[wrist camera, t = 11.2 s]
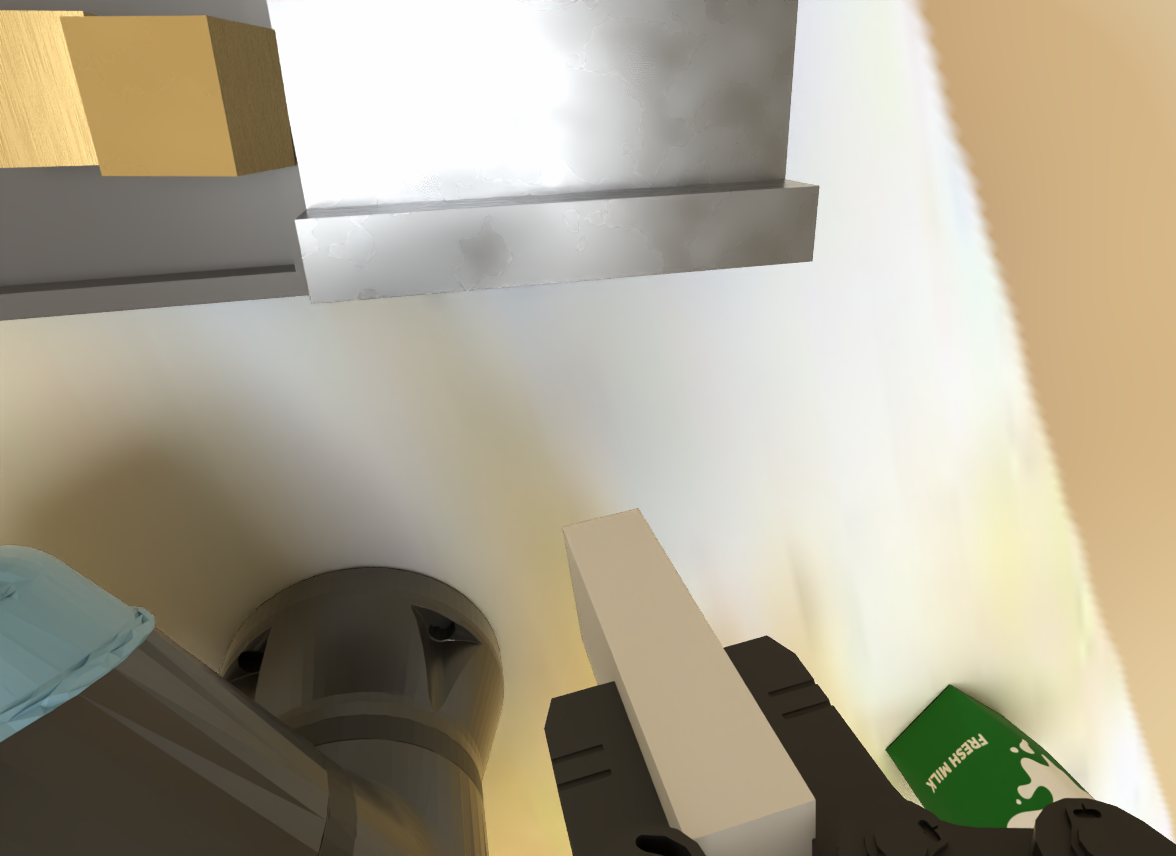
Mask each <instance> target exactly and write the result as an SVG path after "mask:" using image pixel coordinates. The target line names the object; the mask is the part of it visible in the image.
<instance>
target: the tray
mask: <svg viewBox="0 0 1176 856" xmlns="http://www.w3.org/2000/svg"><path fill="white" fill-rule="evenodd" d="M0 10H18V11H84V12H88V13H91V14H95V15H98V16H192V15H207V16H211V17H216V18H221V19H226V20H231V21H236V22H241V23H245V24H250V25H255V26H260V27H265V28H270V29H272V26H271V21H270V16H269V11H268V5H267V0H0ZM289 121H290V120H289ZM290 127H291V125H290ZM291 133H292V130H291ZM292 139H293V136H292ZM293 146H294V141H293ZM294 152H295V158H296V164H297V165H296V166H290V167H285V168H280V169H274V170H269V171H264V172H258V173H253V174H248V175H243V176H102V174H101V170H100V167H99V165H86V166H51V167H17V168H0V321H1V320H13V319H26V318H38V317H50V316H62V315H74V314H86V313H98V312H110V311H122V310H134V309H146V308H158V307H171V306H183V305H195V304H207V303H219V302H231V301H243V300H255V299H267V298H279V297H291V296H303V295H310V294H309V289H308V284H307V279H306V274H305V269H304V264H303V259H302V254H301V249H300V244H299V239H298V234H297V229H296V224H295V219H296V218H297V217H298V216H299V215H301V214H302V213H303V212H304V211H305V210H306V203H305V198H304V193H303V188H302V183H301V177H300V172H299V167H298V162H297V157H296V151H295V146H294Z"/></svg>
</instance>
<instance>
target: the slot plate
mask: <svg viewBox="0 0 1176 856" xmlns="http://www.w3.org/2000/svg"><path fill="white" fill-rule="evenodd" d="M267 5H268V11H269V16H270V21H271V26H272V29H274V30H275V33H276V40H277V46H278V52H279V58H280V65H281V71H282V77H283V83H284V90H285V96H286V102H287V108H288V115H289V120H290V125H291V130H292V136H293V141H294V146H295V151H296V157H297V162H298V167H299V172H300V177H301V183H302V188H303V193H304V198H305V203H306V210H305V211H304V212H303V213H302V214H301V215H299V216H298V217H297V218H296V219H295V224H296V229H297V234H298V239H299V244H300V249H301V254H302V259H303V264H304V269H305V274H306V279H307V284H308V289H309V294H310V299H311V304H315V303H327V302H339V301H351V300H362V299H374V298H386V297H398V296H410V295H421V294H433V293H445V292H457V291H468V290H480V289H492V288H504V287H516V286H527V285H539V284H551V283H563V282H574V281H586V280H598V279H610V278H621V277H633V276H645V275H657V274H669V273H680V272H692V271H704V270H716V269H727V268H739V267H751V266H763V265H775V264H786V263H798V262H810V261H812V260H813V249H814V239H815V228H816V217H817V206H818V195H819V186H818V185H812V184H807V183H802V182H796V181H791V180H786V179H785V173H786V159H787V146H788V132H789V119H790V105H791V91H792V78H793V64H794V51H795V37H796V24H797V10H798V0H267Z"/></svg>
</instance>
